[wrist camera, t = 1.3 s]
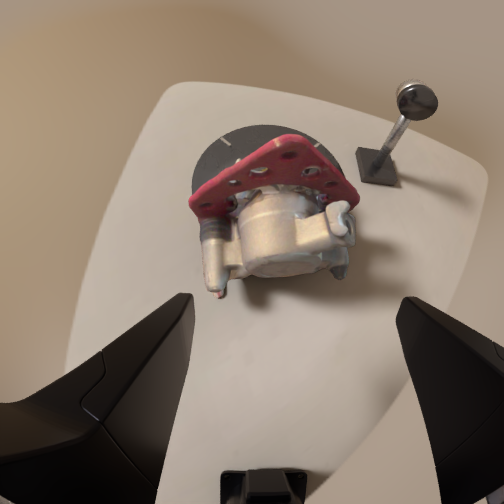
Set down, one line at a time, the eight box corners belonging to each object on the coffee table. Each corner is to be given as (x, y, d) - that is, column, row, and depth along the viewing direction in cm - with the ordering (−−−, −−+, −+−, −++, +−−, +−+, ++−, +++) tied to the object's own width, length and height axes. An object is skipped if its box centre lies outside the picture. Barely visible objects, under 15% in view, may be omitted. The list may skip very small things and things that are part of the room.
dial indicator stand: (393, 186, 25) (451, 106, 14) (361, 181, 25) (413, 92, 14) (385, 157, 26) (433, 77, 15) (355, 152, 26) (396, 65, 15)
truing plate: (354, 258, 22) (355, 257, 22) (182, 251, 22) (181, 251, 22) (336, 132, 27) (336, 131, 27) (202, 124, 27) (202, 123, 27)
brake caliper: (330, 147, 23) (406, 141, 11) (327, 265, 26) (384, 337, 15) (198, 149, 22) (161, 137, 11) (206, 271, 26) (187, 354, 14)
